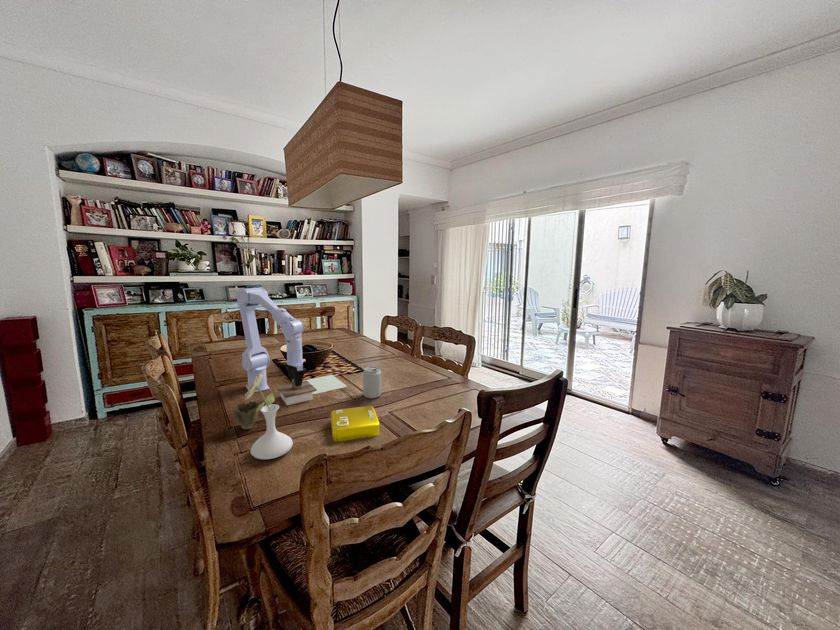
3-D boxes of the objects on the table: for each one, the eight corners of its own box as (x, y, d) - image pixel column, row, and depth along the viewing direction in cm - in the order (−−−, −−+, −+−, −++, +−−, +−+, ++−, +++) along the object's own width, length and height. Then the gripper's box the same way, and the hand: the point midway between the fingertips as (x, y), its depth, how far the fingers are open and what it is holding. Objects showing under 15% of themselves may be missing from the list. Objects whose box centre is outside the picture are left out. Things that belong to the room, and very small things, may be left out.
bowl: (280, 397, 134) (280, 388, 133) (305, 392, 139) (305, 383, 139) (287, 406, 126) (286, 396, 125) (312, 400, 131) (312, 390, 131)
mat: (299, 382, 150) (299, 381, 150) (332, 375, 160) (332, 374, 159) (311, 395, 136) (311, 394, 136) (347, 387, 145) (347, 386, 145)
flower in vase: (270, 438, 103) (265, 362, 99) (301, 445, 100) (297, 366, 96) (236, 462, 91) (229, 377, 86) (270, 470, 87) (264, 382, 83)
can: (377, 400, 132) (377, 372, 131) (360, 398, 134) (360, 370, 132) (383, 393, 140) (383, 366, 138) (366, 391, 141) (366, 364, 139)
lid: (277, 388, 133) (276, 378, 132) (306, 381, 140) (306, 372, 139) (285, 398, 124) (284, 387, 123) (316, 390, 131) (316, 381, 130)
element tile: (380, 436, 106) (380, 423, 105) (333, 443, 101) (332, 429, 101) (373, 415, 120) (372, 403, 119) (331, 421, 115) (330, 408, 115)
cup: (233, 435, 104) (231, 412, 103) (236, 425, 111) (234, 403, 109) (259, 431, 107) (258, 408, 106) (260, 421, 114) (259, 399, 112)
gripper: (310, 353, 126) (311, 386, 128) (299, 345, 137) (300, 375, 139) (291, 356, 122) (293, 390, 124) (281, 347, 133) (283, 378, 135)
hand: (296, 382), depth 131 cm, fingers open, 7 cm apart
